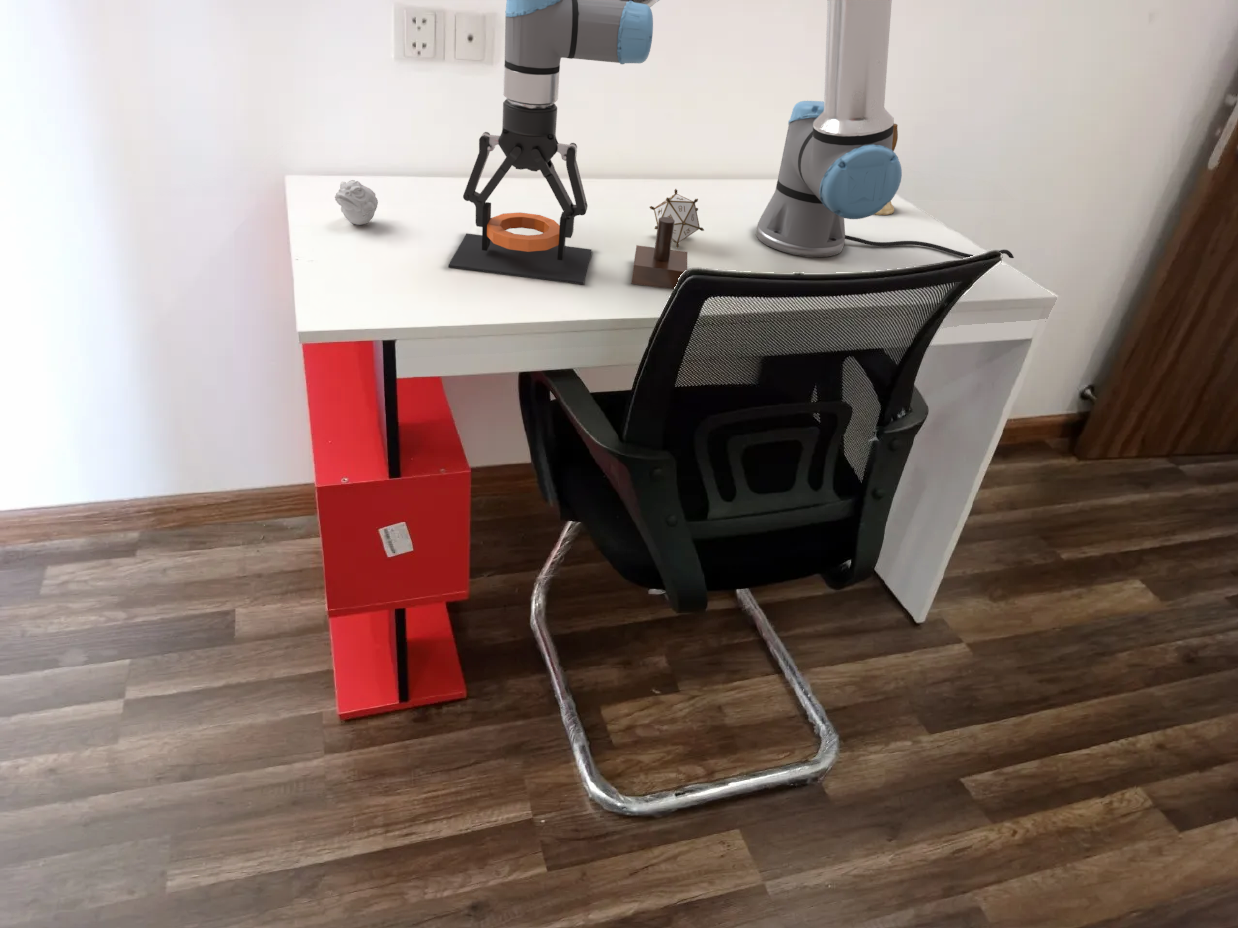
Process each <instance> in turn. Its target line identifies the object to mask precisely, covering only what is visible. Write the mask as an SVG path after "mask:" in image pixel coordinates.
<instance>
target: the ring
mask: <svg viewBox="0 0 1238 928" xmlns="http://www.w3.org/2000/svg"><path fill="white" fill-rule="evenodd" d="M510 229H511V230H512V229H528V230H534V231H537V232H539V234H528V235H527V234H520V233H513V232H512V231H509V230H510ZM559 229H560V223H558V222H557V221H556V220H555V219H552V218H550V217H547V216H543V215H541V214H537V213H536V214H534V213H528V212H508V213H507V212H506V213H501V214H498V215H496V216H493V217H492V216H491V219H490V221H489V223H488V224H487V237H488V238H489V239H490V240H491V241H492V242H493V243H494V244H496V245H499V246H501V247H504V248H507V249H511V250H519V251H527V252H531V251H543V250H548V249H551V248H553V247H555V246H558V245H559Z"/></svg>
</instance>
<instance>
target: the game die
mask: <svg viewBox="0 0 1238 928" xmlns="http://www.w3.org/2000/svg"><path fill="white" fill-rule="evenodd" d="M698 201H699V198H694V200H692V199H690V198H687V197H684V196H683V195H680V194H678V189H677V188H675V189H674V194H673V195H671V196H669V197H666V198H665V200H664V201H662V202H661V203H659V204H658V205H657V206H653V205H650V206H649V209H650V210H653V213H654V217H655V221H656V225H655V227H654V230H657V227H658V220H659V218H661V217H668V218H672V219H674V220H675V223H674V230H673V237H672V243H675V247H676V248H677V249H679V247H680V243H681V242H683V241H684V240H685V239H687V238H688V237H689V236H691V235H693V234H695V232H697V231H698V230H699V231H701V232H704V231H705V229H704V227H702V226H700V222H699V217H698V216H699V215H698V211H699V207H696V203H697V202H698Z"/></svg>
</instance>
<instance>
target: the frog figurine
mask: <svg viewBox="0 0 1238 928" xmlns="http://www.w3.org/2000/svg"><path fill="white" fill-rule="evenodd" d="M334 200H335V201H336V203H337V204H338V205H339V206H340V211H341V213H342V215H343V216H344V218H345V219H346V220H347V221H348V222H350V223H351V224H353V225H357V226H362V225H366V224H369V222H371V221H372V219H373V218H374V216H375V213H376V211H377V208H378V205H379V201H378V198H377V196H376V192H375V191H374V190H373V189H371V188H370V187H368V186H365V185H364V184H363V183H361V182H360V181H358V180H354V179H352V180H351V179H350V180H348V181H341V182H340V184H339V189H338V191H337V192H336V193H335V195H334Z"/></svg>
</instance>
